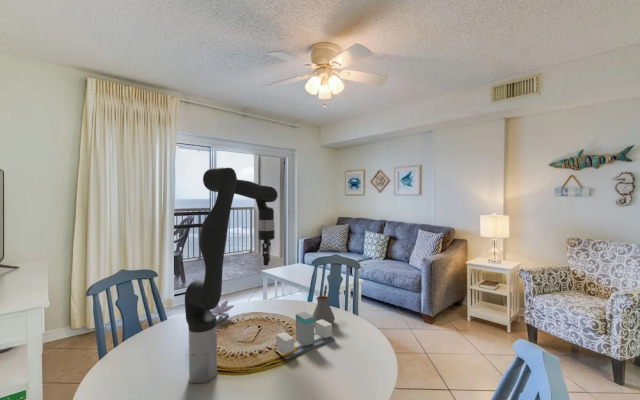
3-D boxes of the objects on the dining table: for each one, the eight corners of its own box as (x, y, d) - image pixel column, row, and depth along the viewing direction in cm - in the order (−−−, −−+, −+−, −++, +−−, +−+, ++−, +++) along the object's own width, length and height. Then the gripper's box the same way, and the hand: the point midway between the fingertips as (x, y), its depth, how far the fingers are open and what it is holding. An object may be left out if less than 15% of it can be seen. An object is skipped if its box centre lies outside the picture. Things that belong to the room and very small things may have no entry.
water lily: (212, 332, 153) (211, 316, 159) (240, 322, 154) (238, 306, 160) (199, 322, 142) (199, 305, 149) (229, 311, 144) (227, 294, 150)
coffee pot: (333, 329, 140) (333, 298, 140) (309, 328, 141) (309, 297, 141) (337, 312, 161) (336, 284, 161) (316, 311, 162) (316, 284, 162)
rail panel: (285, 360, 114) (285, 342, 114) (274, 350, 121) (274, 334, 121) (334, 340, 129) (334, 324, 129) (321, 332, 136) (321, 318, 136)
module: (305, 346, 121) (305, 319, 121) (295, 339, 126) (295, 314, 126) (314, 342, 124) (314, 316, 124) (304, 336, 129) (304, 311, 129)
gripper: (273, 230, 134) (273, 266, 133) (275, 228, 148) (275, 260, 148) (256, 230, 133) (257, 266, 133) (260, 228, 147) (260, 260, 147)
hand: (266, 263), depth 140 cm, fingers open, 8 cm apart
